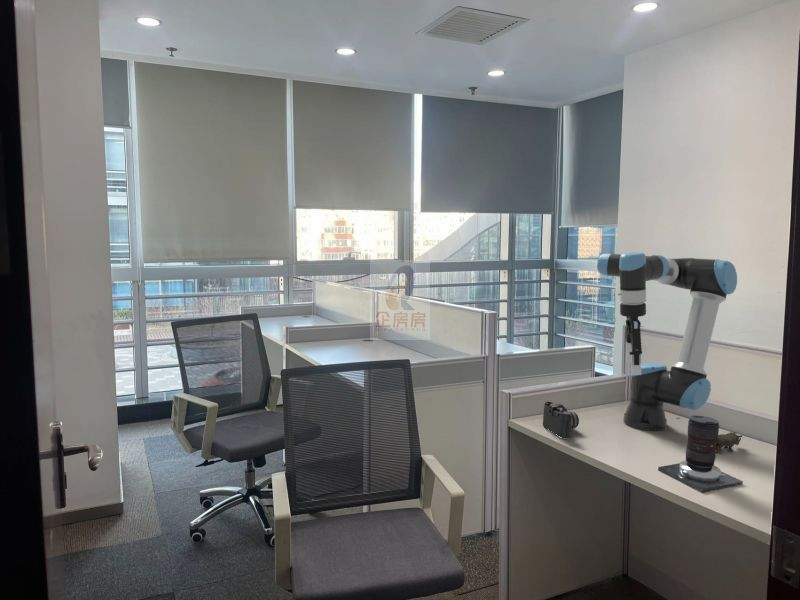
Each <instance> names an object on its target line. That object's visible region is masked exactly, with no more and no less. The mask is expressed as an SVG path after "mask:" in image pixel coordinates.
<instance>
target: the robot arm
mask: <svg viewBox="0 0 800 600" xmlns="http://www.w3.org/2000/svg"><path fill="white" fill-rule="evenodd" d="M596 268H597V272H598V273H599V274H600V275H602V276H607V277H618V278H619V292H618V293H617V295H618V296H619V301H620V302H621V303H620V305H619V314H620V316H623V317H625V318H626V320H625V342H626V344H625V345H626V356H625V357H626V363H627V364H630V365H631V366H630V367H631V369H630V370H631V371H630V372H631V377H630V378H631V381H630V393H629V394H630V395H629V396H630V397H629V403H628V405H627V407H626V411H625V413H623V420H622V421H623V423H624V424H625V425H627V426H629V427H631V428H634V429H638V430H644V431H656V432H657V431H658V432H659V431H663V430H664V431H665V430H666V429H667V426H668V420H667V418H666V413H665V408H664V404H668V405H669V404H670V405H673V406H675V407H679V408H681V409H687V410H691V411H692V410H693V411H696V410H699V409H701V408H702V407H703V406H704V405H705V404H706V402H707V401H708V399H709V397H710V394H711V391H712V388H711V386H712V385H711V382H710V380H708V378H707V377H708V374H707V373H706V371H705V363H706V361H707V356H708V352H709V347H710V343H711V339H712V337H713V332H714V327H715V323H716V319H717V316H718V312H719V307H720V304H721V303H723V302H724V301H726V298H727V295H731V294H733V293H735V291H736V289H737V285H738V273H737V270H736V267H735V265H734V264H733V263H732V262H731V261H728V260H723V259H713V258H712V259H710V258H693V257H681V258H666V257H665V256H663V255H661V254H652V255H646V254H645V253H643V252H626V253H622V254H620V253H612V252H611V253H602V254H601V255H600V256H599V257H598V258H597V262H596ZM648 281H649V282H650V281H655V282H658V283H660V284H661V285H666V286H670V287H671V286H672V287H675V288H679V289H684V290H689V294H690V296H691V297H692V302H691V305H690V309H689V313H688V318H687V322H686V326H685V329H684V333H683V338H682V341H681V346H680V349H679V354H678V358H677V362H676V363H674V364H672V365H671V368H670V370H668V367H667V365H666V364H663V363H656V362H654V363H653V362H652V363H651V362H646V363H642V354H643V351H642V350H643V349H642V348H643V347H642V334H641V327H642V324H641V323H642V322H641V321H640V319H639V317H643V316H645V315H646V314H647V304H646V301H647V288H646V287H647V285H646V283H647V282H648ZM665 428H666V429H665Z"/></svg>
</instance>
